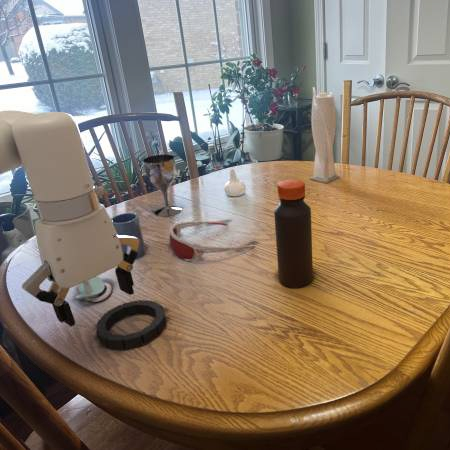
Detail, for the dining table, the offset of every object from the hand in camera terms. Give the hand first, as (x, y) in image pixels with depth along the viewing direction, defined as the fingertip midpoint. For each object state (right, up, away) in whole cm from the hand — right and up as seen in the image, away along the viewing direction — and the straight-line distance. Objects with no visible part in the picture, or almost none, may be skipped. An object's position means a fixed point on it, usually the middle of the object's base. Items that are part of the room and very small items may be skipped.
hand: (99, 306), depth 68 cm
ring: (+3, -5, +6) cm, 9 cm away
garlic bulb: (+12, +22, +63) cm, 68 cm away
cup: (-7, +6, +31) cm, 32 cm away
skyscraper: (+39, +28, +74) cm, 88 cm away
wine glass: (-5, +16, +53) cm, 56 cm away
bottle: (+30, +2, +19) cm, 36 cm away
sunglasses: (+10, +8, +34) cm, 36 cm away
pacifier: (-8, -1, +16) cm, 18 cm away
